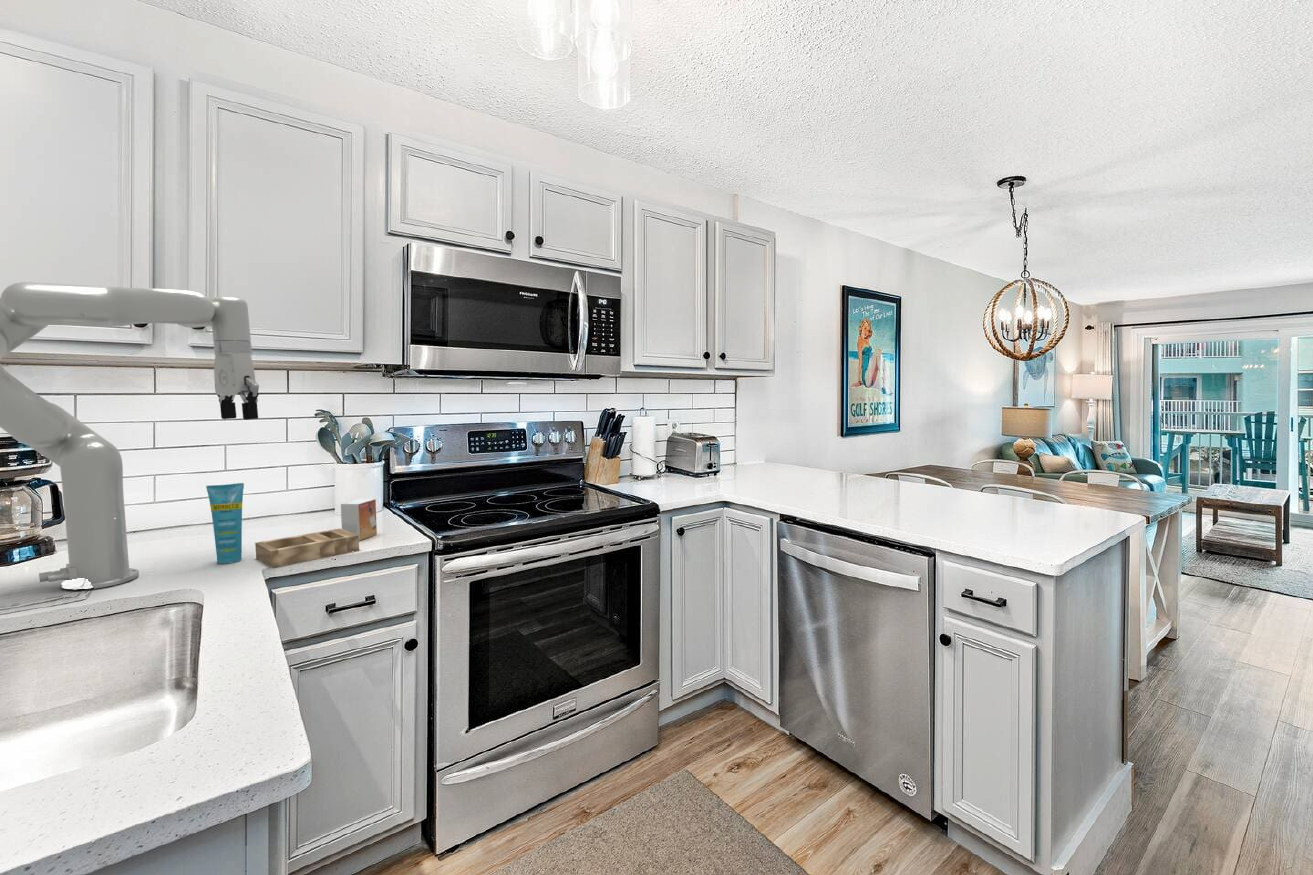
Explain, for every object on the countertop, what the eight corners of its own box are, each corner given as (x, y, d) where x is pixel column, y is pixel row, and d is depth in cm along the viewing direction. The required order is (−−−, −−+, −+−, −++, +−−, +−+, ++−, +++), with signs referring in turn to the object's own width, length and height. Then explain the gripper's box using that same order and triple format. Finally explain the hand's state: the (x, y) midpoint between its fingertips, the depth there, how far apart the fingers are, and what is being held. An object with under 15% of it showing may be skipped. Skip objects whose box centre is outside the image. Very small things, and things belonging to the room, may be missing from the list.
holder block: (272, 567, 141) (271, 551, 141) (256, 558, 149) (255, 542, 149) (359, 550, 156) (358, 535, 156) (340, 542, 164) (340, 528, 164)
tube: (210, 566, 143) (205, 486, 141) (211, 561, 147) (206, 483, 145) (248, 561, 147) (243, 483, 145) (248, 556, 151) (244, 481, 149)
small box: (359, 541, 165) (358, 504, 164) (341, 540, 166) (339, 503, 165) (377, 534, 173) (376, 498, 172) (360, 533, 174) (358, 498, 173)
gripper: (197, 350, 147) (204, 419, 148) (235, 347, 138) (242, 420, 140) (230, 350, 153) (237, 417, 155) (269, 348, 145) (275, 418, 147)
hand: (239, 418), depth 148 cm, fingers open, 9 cm apart
